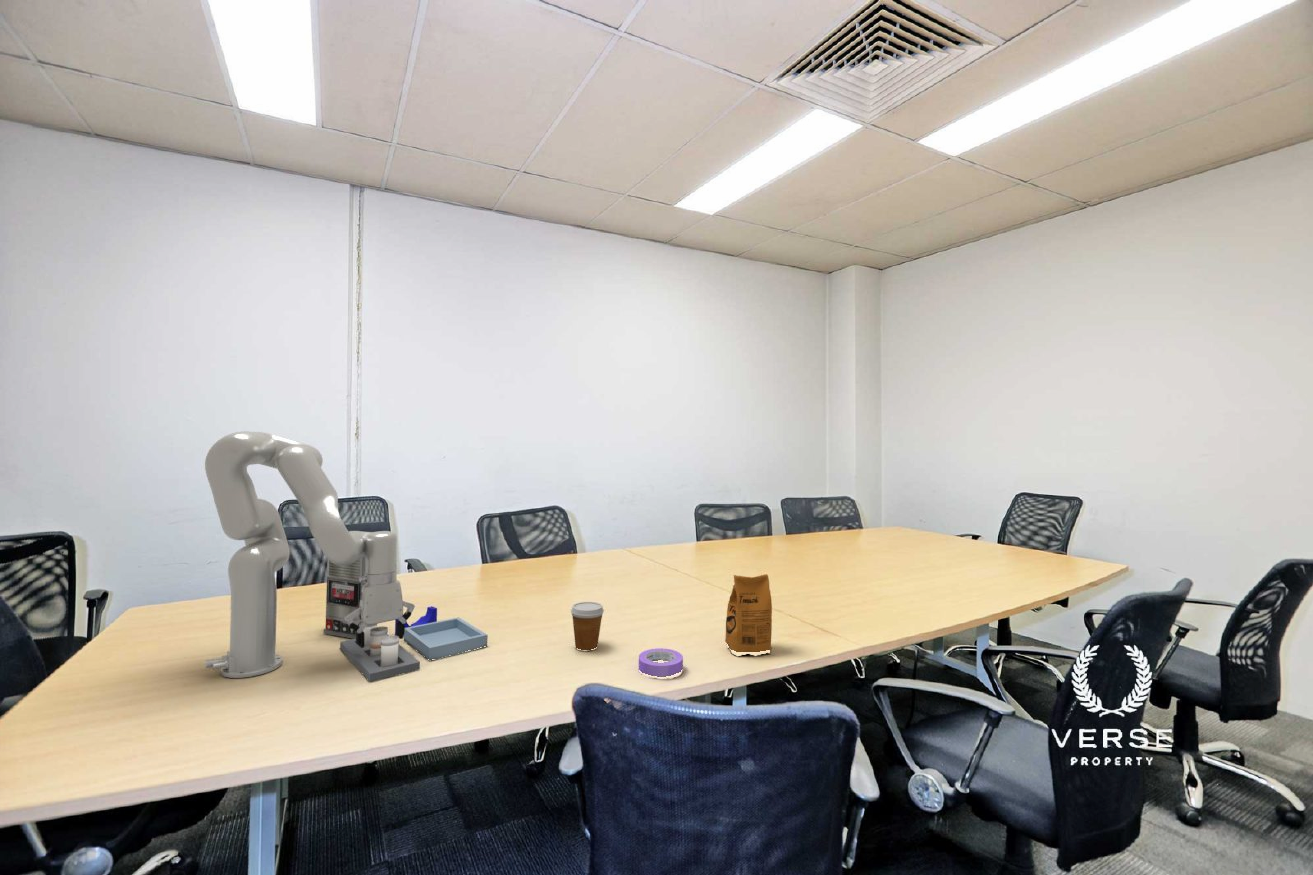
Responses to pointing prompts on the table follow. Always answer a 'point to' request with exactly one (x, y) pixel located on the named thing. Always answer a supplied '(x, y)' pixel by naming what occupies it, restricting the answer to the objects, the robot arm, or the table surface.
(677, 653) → the masking tape
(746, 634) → the coffee package
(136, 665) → the table surface
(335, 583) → the cassette tape recorder
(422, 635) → the tray
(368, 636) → the cylinder
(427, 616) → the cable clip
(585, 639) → the disposable coffee cup
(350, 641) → the fuse holder
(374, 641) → the marked fuse
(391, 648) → the cylinder
